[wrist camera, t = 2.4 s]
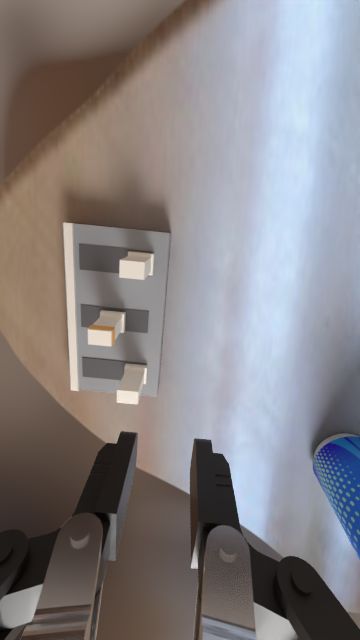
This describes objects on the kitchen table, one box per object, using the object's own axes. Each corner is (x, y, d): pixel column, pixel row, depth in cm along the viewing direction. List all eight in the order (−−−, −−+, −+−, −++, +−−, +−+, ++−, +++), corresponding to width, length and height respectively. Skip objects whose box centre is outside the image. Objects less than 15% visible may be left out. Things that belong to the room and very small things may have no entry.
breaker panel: (73, 223, 27) (35, 220, 20) (171, 232, 27) (165, 233, 20) (78, 377, 33) (50, 415, 26) (159, 384, 33) (151, 425, 26)
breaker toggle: (101, 310, 27) (85, 325, 22) (125, 312, 27) (113, 328, 22) (101, 328, 27) (85, 347, 23) (125, 330, 27) (113, 349, 23)
